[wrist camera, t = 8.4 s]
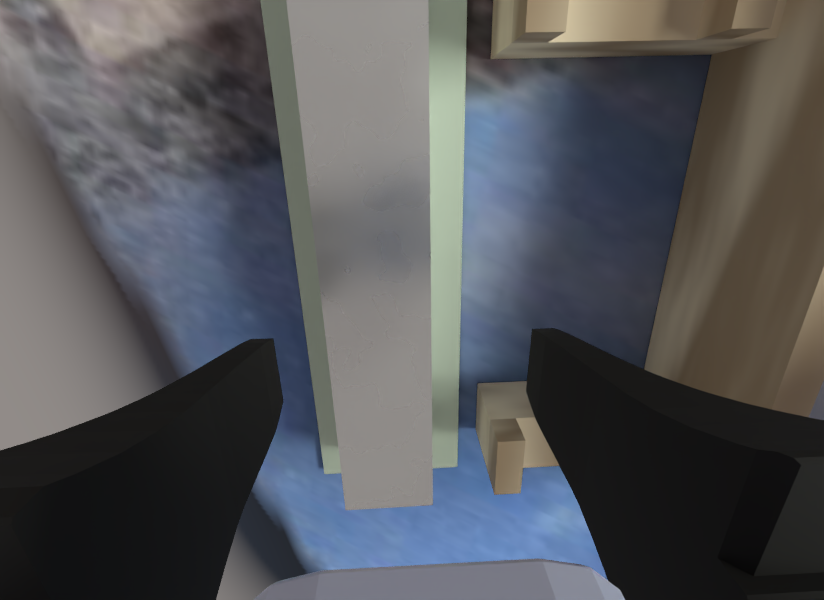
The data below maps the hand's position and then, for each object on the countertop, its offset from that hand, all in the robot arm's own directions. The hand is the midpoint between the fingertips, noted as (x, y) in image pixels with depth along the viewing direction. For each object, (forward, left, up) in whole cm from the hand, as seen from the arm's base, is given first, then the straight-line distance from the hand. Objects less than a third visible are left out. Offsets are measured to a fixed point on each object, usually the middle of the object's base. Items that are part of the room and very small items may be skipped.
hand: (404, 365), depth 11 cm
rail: (+1, -1, -8) cm, 8 cm away
